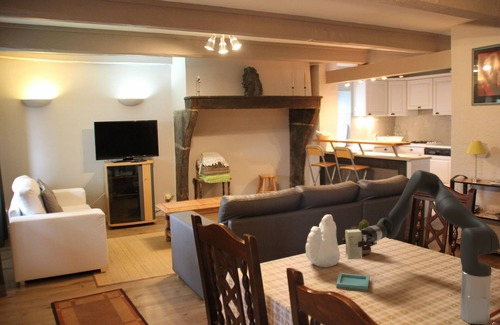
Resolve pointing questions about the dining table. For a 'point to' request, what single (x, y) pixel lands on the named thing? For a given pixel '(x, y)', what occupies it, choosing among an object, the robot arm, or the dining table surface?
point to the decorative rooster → (323, 243)
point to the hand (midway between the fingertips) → (350, 243)
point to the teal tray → (353, 282)
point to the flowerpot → (363, 224)
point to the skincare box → (353, 244)
